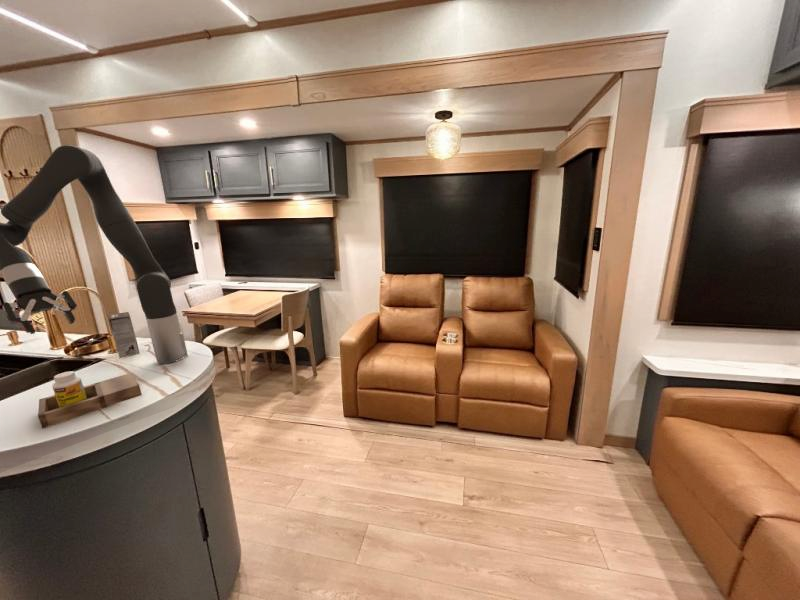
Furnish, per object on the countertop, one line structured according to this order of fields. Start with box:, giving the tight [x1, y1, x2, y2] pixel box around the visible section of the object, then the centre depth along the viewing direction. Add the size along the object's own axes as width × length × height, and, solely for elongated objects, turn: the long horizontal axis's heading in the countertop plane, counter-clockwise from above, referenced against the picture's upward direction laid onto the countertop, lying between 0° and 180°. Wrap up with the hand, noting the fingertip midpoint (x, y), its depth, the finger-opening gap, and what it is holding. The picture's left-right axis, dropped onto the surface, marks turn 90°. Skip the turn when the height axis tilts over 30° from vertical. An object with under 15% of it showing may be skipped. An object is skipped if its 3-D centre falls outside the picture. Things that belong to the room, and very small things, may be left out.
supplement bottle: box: [51, 370, 87, 408], centre depth 88 cm, size 6×6×10 cm
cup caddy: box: [37, 372, 143, 429], centre depth 91 cm, size 20×12×4 cm, turn 137°
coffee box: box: [107, 311, 140, 359], centre depth 126 cm, size 9×6×16 cm
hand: (53, 327), depth 96 cm, fingers open, 8 cm apart
